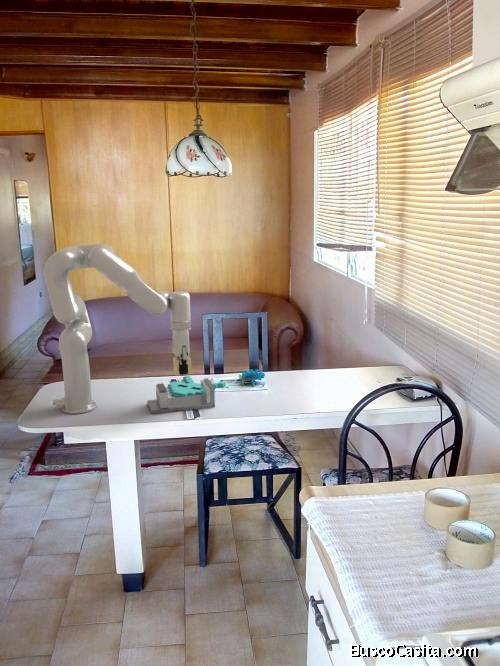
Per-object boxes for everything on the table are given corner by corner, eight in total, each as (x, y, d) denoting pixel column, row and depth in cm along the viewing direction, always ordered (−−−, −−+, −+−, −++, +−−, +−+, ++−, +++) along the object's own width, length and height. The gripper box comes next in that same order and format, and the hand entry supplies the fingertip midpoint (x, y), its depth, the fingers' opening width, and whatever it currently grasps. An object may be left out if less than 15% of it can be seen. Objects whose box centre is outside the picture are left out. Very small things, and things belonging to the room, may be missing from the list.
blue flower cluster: (266, 377, 241) (262, 366, 232) (267, 389, 238) (262, 379, 229) (241, 379, 243) (236, 369, 234) (241, 392, 239) (236, 381, 231)
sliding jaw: (160, 408, 206) (159, 391, 204) (156, 399, 215) (155, 383, 213) (168, 407, 206) (167, 390, 205) (164, 398, 216) (163, 382, 214)
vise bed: (151, 414, 204) (150, 393, 203) (147, 404, 215) (146, 384, 213) (214, 407, 211) (214, 387, 210) (208, 397, 222) (207, 378, 220)
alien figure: (186, 380, 244) (158, 394, 227) (186, 375, 243) (158, 389, 226) (225, 387, 235) (199, 402, 218) (225, 382, 234) (199, 397, 217)
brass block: (175, 375, 208) (175, 360, 206) (173, 372, 211) (173, 357, 210) (191, 373, 209) (191, 358, 208) (189, 370, 213) (188, 355, 212)
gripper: (166, 321, 213) (168, 367, 217) (174, 330, 197) (176, 380, 201) (186, 319, 215) (188, 365, 219) (195, 329, 199) (197, 378, 204)
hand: (182, 371), depth 210 cm, fingers closed on brass block, 4 cm apart
